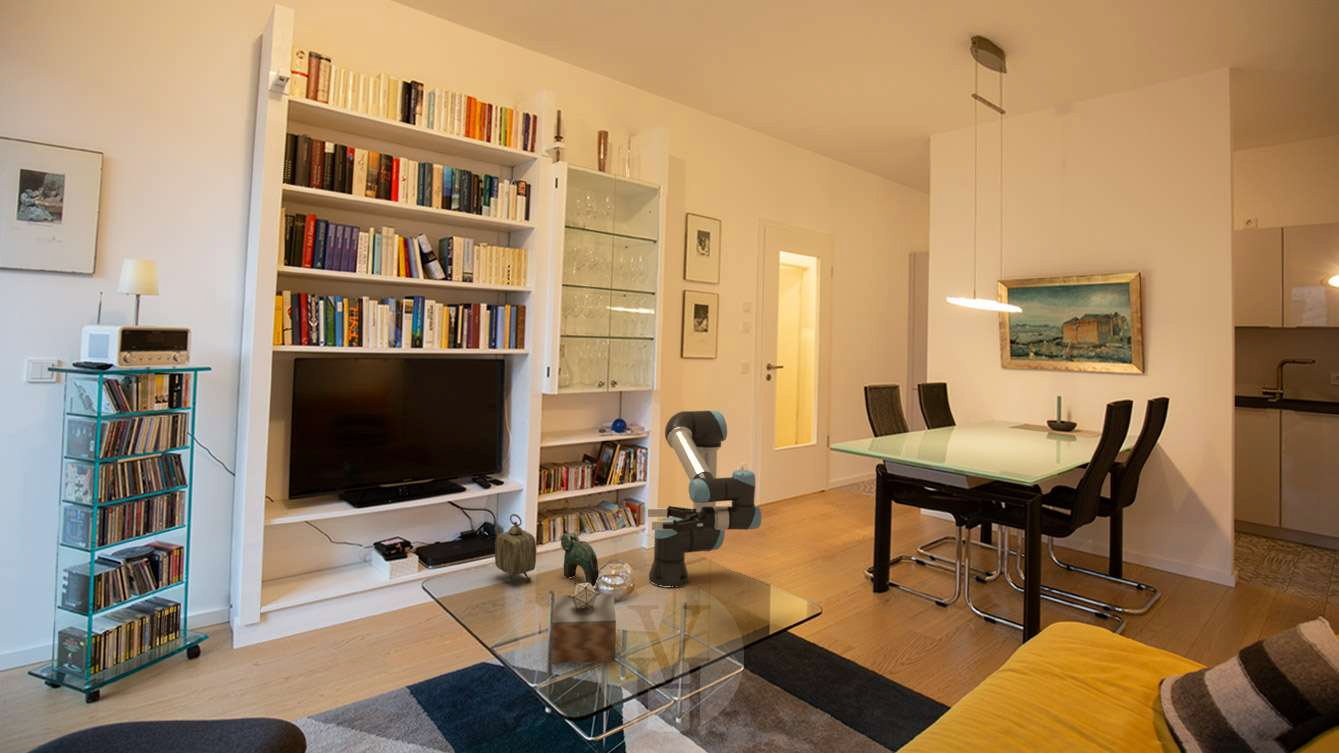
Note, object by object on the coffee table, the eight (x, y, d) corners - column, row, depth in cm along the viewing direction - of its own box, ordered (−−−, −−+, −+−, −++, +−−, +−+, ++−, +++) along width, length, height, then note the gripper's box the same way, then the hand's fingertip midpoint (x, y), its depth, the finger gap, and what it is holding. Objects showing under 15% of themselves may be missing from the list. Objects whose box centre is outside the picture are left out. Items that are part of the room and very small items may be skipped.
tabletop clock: (535, 582, 239) (536, 516, 237) (515, 589, 232) (515, 521, 230) (513, 571, 249) (514, 508, 247) (493, 577, 242) (493, 512, 240)
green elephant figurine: (558, 575, 245) (559, 524, 244) (573, 571, 250) (573, 521, 248) (588, 592, 231) (589, 538, 229) (603, 588, 235) (604, 535, 233)
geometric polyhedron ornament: (587, 622, 190) (592, 605, 183) (561, 610, 191) (566, 592, 184) (600, 598, 197) (605, 580, 190) (575, 586, 198) (580, 568, 191)
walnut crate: (612, 630, 202) (613, 594, 202) (615, 660, 185) (615, 620, 184) (554, 632, 200) (555, 595, 199) (551, 663, 182) (552, 622, 181)
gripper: (721, 542, 199) (653, 543, 196) (706, 517, 224) (646, 518, 221) (722, 518, 198) (654, 519, 196) (707, 496, 223) (646, 497, 220)
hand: (649, 518), depth 208 cm, fingers open, 13 cm apart
